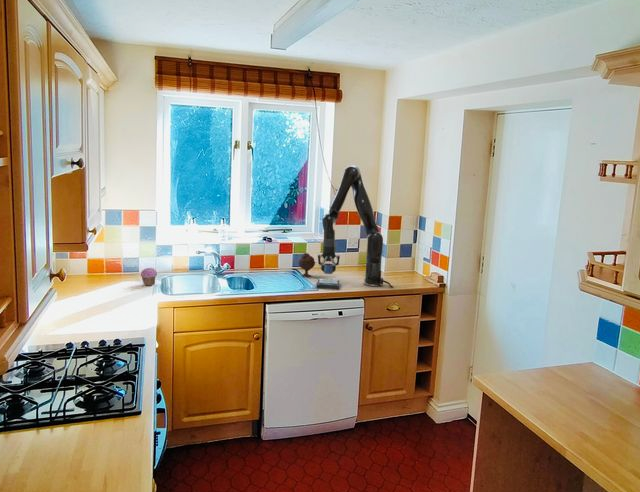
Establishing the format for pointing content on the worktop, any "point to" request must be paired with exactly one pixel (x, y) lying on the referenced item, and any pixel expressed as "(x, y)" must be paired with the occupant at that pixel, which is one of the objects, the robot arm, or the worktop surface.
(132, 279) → the worktop surface
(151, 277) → the cupcake
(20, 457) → the worktop surface
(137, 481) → the worktop surface
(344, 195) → the robot arm
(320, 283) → the scale
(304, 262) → the miniature tree
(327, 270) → the dip bowl
